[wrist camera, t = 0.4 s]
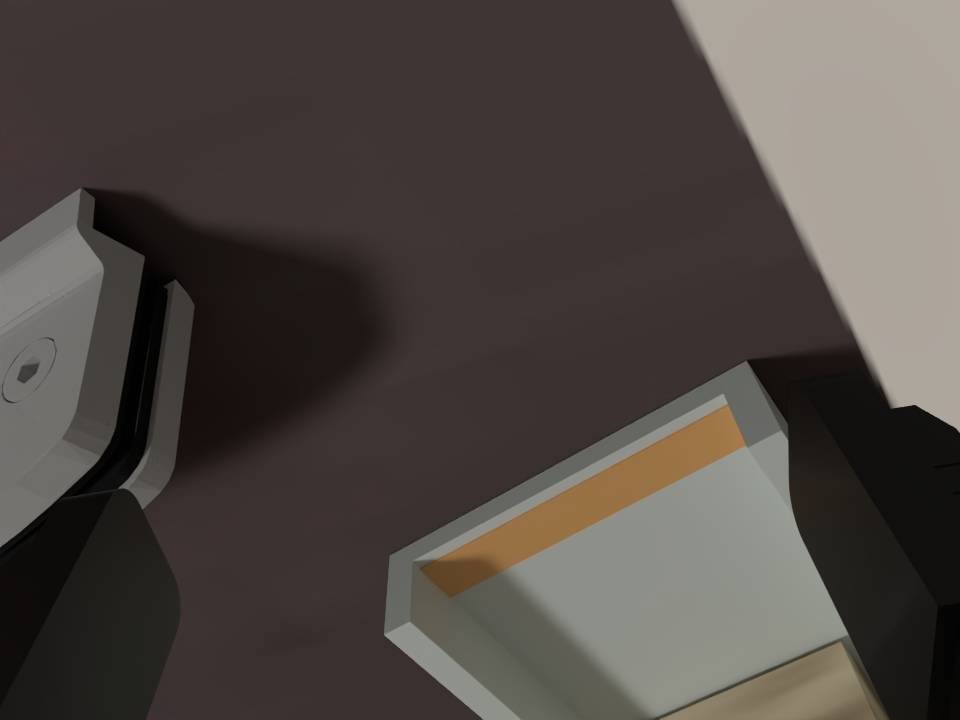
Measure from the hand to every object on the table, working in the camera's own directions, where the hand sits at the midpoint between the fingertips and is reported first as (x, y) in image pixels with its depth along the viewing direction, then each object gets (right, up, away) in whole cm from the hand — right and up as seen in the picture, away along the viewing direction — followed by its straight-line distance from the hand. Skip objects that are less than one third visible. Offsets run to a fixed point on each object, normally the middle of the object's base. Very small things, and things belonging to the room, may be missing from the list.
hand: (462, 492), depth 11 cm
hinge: (-17, +1, +21) cm, 27 cm away
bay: (+11, -11, +29) cm, 33 cm away
